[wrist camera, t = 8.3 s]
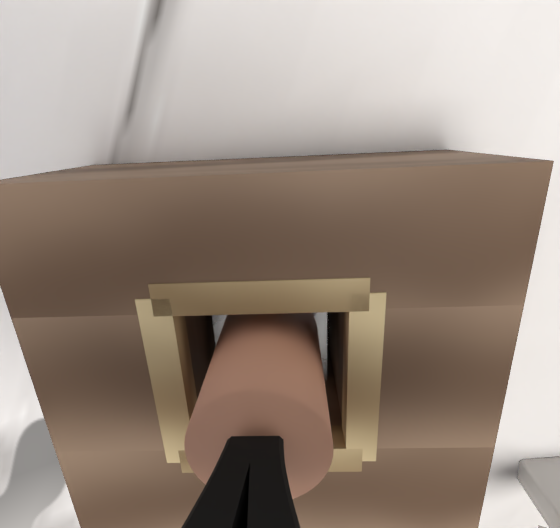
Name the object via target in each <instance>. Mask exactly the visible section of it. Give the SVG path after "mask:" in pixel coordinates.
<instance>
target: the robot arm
mask: <svg viewBox="0 0 560 528" xmlns="http://www.w3.org/2000/svg"><path fill="white" fill-rule="evenodd" d="M181 528H300V524H299V521H298V517H297V514H296V510H295V506H294V503H293V499H292V495H291V491H290V487H289V482H288V477H287V472H286V466H285V458H284V439H282V438H281V437H280V436H231V437H230V438H229V439H228V440H227V442H226V444H225V446H224V449H223V451H222V453H221V455H220V457H219V460H218V462H217V464H216V466H215V468H214V470H213V472H212V474H211V476H210V478H209V479H208V481H207V483H206V485H205V487H204V489H203V491H202V493H201V494H200V496H199V498H198V500H197V501H196V503H195V505H194V507H193V508H192V510H191V512H190V514H189V515H188V517H187V519H186V521H185V522H184V524H183V526H182V527H181Z"/></svg>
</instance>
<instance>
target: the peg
mask: <svg viewBox="0 0 560 528" xmlns="http://www.w3.org/2000/svg"><path fill="white" fill-rule="evenodd" d="M231 436H280V437H281V438H282V439H284V458H285V466H286V472H287V477H288V482H289V487H290V491H291V495H292V499H294V498H297V497H299V496H301V495H303V494H305V493H307V492H308V491H310V490H311V489H313V488H314V487H315V486H316V485H318V484H319V483H320V481H321V480H322V479H323V478H324V477H325V475H326V474H327V472H328V470H329V468H330V466H331V463H332V459H333V451H334V449H333V439H332V432H331V424H330V417H329V410H328V402H327V395H326V388H325V380H324V373H323V366H322V358H321V351H320V344H319V337H318V329H317V324H316V321H315V318H314V316H313V314H312V313H279V314H240V315H227V317H226V319H225V322H224V325H223V328H222V330H221V333H220V336H219V339H218V342H217V345H216V347H215V350H214V353H213V356H212V359H211V362H210V365H209V367H208V370H207V373H206V376H205V379H204V382H203V385H202V387H201V390H200V393H199V396H198V399H197V402H196V404H195V407H194V410H193V413H192V416H191V419H190V422H189V424H188V427H187V430H186V434H185V441H184V447H185V454H186V458H187V461H188V463H189V465H190V467H191V469H192V470H193V472H194V473H195V474H196V476H197V477H198V478H199V479H200V480H201V481H202V482H203V483H204V484H205V485H206V483H207V481H208V479H209V478H210V476H211V474H212V472H213V470H214V468H215V466H216V464H217V462H218V460H219V457H220V455H221V453H222V451H223V449H224V446H225V444H226V442H227V440H228V439H229V438H230V437H231Z"/></svg>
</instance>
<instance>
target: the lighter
mask: <svg viewBox="0 0 560 528" xmlns="http://www.w3.org/2000/svg"><path fill="white" fill-rule="evenodd" d="M517 479H518V481H519V482H520V484H521V485H522V487H523V488H524V490H525V491H526V493H527V494H528V496H529V497H530V499H531V500H532V502H533V503H534V505H535V506H536V508H537V510H538V511H539V513H540V514H541V516H542V517H543V519H544V520H545V522H546V523H547V525H548V526H549V528H560V457H547V458H534V459H522V460H521V461H519V467H518V476H517ZM538 528H545V527H542V526H539V525H538Z"/></svg>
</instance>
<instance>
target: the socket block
mask: <svg viewBox="0 0 560 528" xmlns="http://www.w3.org/2000/svg"><path fill="white" fill-rule="evenodd" d="M553 162H554V161H550V160H540V159H531V158H521V157H511V156H502V155H492V154H483V153H473V152H464V151H454V150H431V151H408V152H384V153H361V154H338V155H315V156H292V157H268V158H245V159H222V160H199V161H176V162H153V163H129V164H106V165H90V166H84V167H78V168H71V169H65V170H59V171H53V172H46V173H40V174H34V175H28V176H21V177H15V178H9V179H3V180H0V286H1V289H2V292H3V295H4V298H5V301H6V304H7V307H8V310H9V313H10V316H11V319H12V322H13V325H14V328H15V331H16V334H17V337H18V340H19V343H20V346H21V349H22V352H23V355H24V358H25V361H26V364H27V367H28V370H29V373H30V376H31V379H32V382H33V385H34V388H35V391H36V394H37V397H38V400H39V403H40V406H41V409H42V412H43V415H44V418H45V421H46V424H47V427H48V430H49V433H50V436H51V439H52V442H53V445H54V448H55V451H56V454H57V457H58V460H59V463H60V466H61V469H62V472H63V475H64V478H65V481H66V484H67V487H68V490H69V493H70V496H71V499H72V502H73V505H74V509H75V512H76V515H77V518H78V521H79V524H80V527H81V528H181V527H182V526H183V524H184V522H185V521H186V519H187V517H188V515H189V514H190V512H191V510H192V508H193V507H194V505H195V503H196V501H197V500H198V498H199V496H200V494H201V493H202V491H203V489H204V487H205V484H204V483H203V482H202V481H201V480H200V479H199V478H198V477H197V476H196V474H195V473H194V472H193V470H192V469H191V467H190V465H189V463H188V461H187V458H186V454H185V447H184V441H185V434H186V430H187V427H188V424H189V422H190V419H191V416H192V413H193V410H194V407H195V404H196V402H197V399H198V396H199V393H200V390H201V387H202V385H203V382H204V379H205V376H206V373H207V370H208V367H209V365H210V362H211V359H212V356H213V353H214V350H215V347H216V345H215V337H214V328H213V320H212V315H240V314H279V313H319V312H329V313H328V344H327V380H325V388H326V395H327V402H328V410H329V417H330V424H331V432H332V439H333V449H334V451H333V459H332V463H331V466H330V468H329V470H328V472H327V474H326V475H325V477H324V478H323V479H322V480H321V481H320V483H319V484H318V485H316V486H315V487H314V488H313V489H311V490H310V491H308V492H307V493H305V494H303V495H301V496H299V497H297V498H294V499H293V503H294V506H295V510H296V514H297V517H298V521H299V524H300V528H478V525H479V520H480V515H481V510H482V506H483V501H484V496H485V491H486V486H487V481H488V477H489V472H490V467H491V462H492V457H493V452H494V448H495V443H496V438H497V433H498V428H499V423H500V419H501V414H502V409H503V404H504V399H505V394H506V389H507V385H508V380H509V375H510V370H511V365H512V360H513V356H514V351H515V346H516V341H517V336H518V331H519V327H520V322H521V317H522V312H523V307H524V302H525V297H526V293H527V288H528V283H529V278H530V273H531V268H532V264H533V259H534V254H535V249H536V244H537V239H538V235H539V230H540V225H541V220H542V215H543V210H544V206H545V201H546V196H547V191H548V186H549V181H550V176H551V172H552V167H553Z"/></svg>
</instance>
